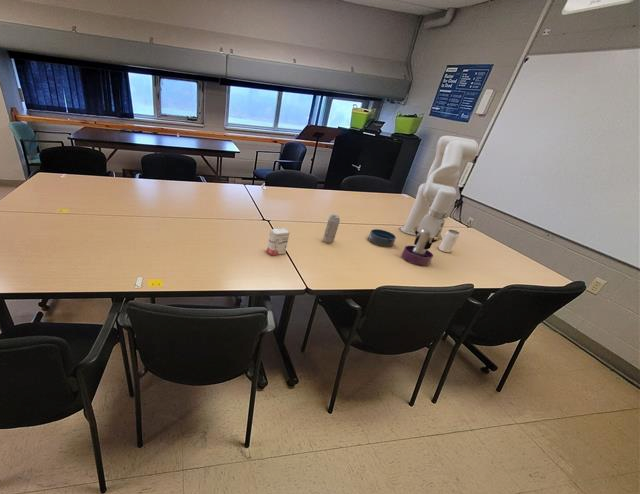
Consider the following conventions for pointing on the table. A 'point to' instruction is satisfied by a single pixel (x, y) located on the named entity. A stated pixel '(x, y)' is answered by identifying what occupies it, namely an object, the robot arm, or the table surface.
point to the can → (448, 240)
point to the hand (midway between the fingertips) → (421, 246)
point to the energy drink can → (331, 229)
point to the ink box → (278, 241)
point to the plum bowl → (414, 258)
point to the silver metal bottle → (421, 243)
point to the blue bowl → (382, 237)
